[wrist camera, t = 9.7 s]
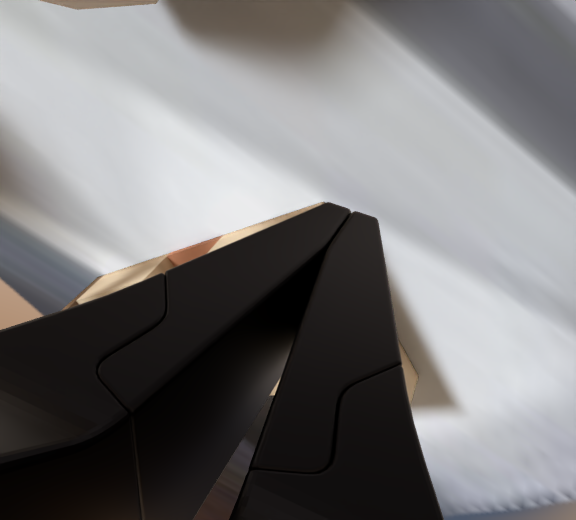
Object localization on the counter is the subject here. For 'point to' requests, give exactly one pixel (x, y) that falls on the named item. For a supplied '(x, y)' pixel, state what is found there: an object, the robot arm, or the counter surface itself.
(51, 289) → the counter surface
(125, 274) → the trap box
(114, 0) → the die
